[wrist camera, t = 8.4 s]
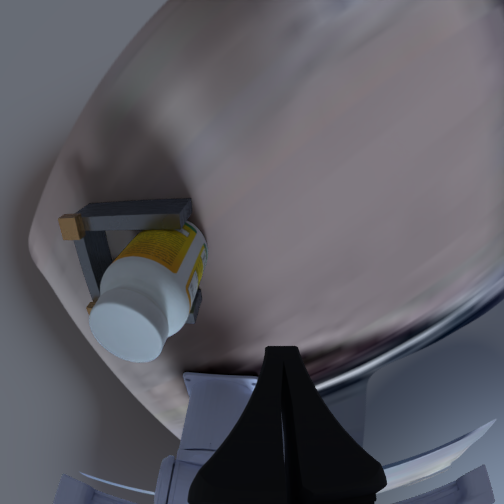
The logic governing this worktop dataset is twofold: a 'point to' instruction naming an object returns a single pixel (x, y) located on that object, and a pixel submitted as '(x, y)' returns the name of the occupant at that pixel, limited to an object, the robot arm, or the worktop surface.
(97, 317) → the supplement bottle
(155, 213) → the docking mount
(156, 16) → the worktop surface
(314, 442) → the robot arm
